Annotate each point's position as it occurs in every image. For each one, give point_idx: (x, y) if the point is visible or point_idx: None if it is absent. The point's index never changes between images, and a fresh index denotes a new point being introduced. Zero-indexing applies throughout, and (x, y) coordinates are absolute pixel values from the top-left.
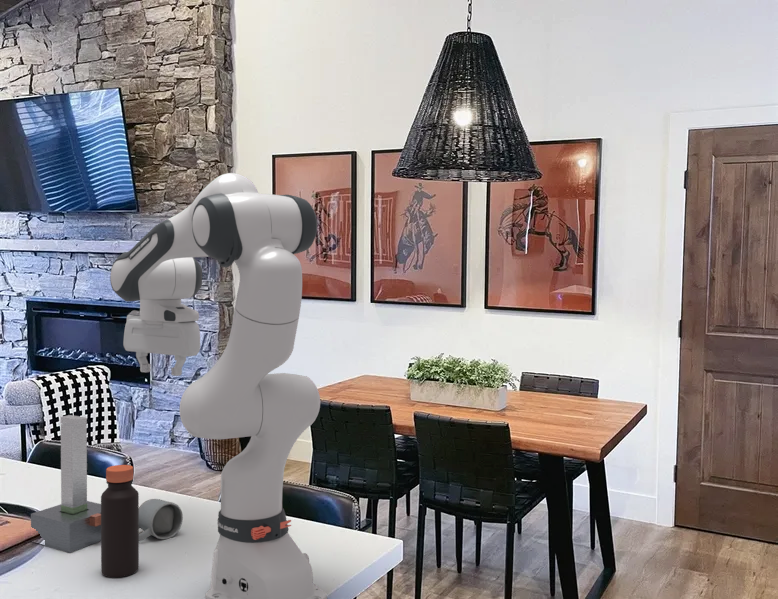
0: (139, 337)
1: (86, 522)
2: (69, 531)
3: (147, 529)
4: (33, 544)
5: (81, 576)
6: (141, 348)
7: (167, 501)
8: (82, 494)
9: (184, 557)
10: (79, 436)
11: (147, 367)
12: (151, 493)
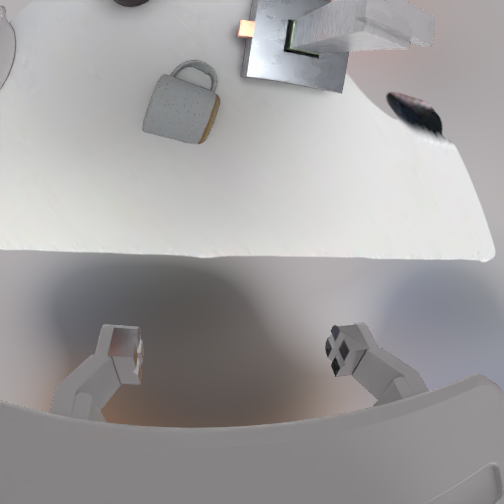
0: (442, 475)
1: (254, 17)
2: None
3: (171, 74)
4: None
5: None
6: (400, 420)
7: (167, 125)
8: (297, 37)
9: (88, 63)
10: (350, 12)
11: (339, 352)
12: (314, 244)
